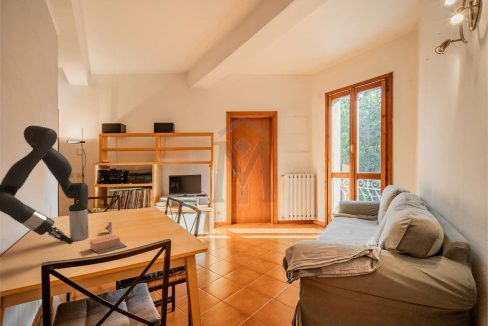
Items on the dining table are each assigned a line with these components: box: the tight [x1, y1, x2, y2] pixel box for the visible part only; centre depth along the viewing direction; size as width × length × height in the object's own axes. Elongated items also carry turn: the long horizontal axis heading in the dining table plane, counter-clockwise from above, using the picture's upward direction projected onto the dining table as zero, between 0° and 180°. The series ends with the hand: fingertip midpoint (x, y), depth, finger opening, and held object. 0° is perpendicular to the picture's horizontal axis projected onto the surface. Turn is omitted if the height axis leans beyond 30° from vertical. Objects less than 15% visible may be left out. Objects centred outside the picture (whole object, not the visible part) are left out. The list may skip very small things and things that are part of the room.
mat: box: [96, 241, 127, 255], centre depth 132 cm, size 15×13×1 cm
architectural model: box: [103, 220, 113, 235], centre depth 156 cm, size 3×7×7 cm, turn 37°
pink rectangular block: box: [89, 234, 121, 252], centre depth 131 cm, size 8×4×12 cm
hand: (71, 242), depth 120 cm, fingers closed
